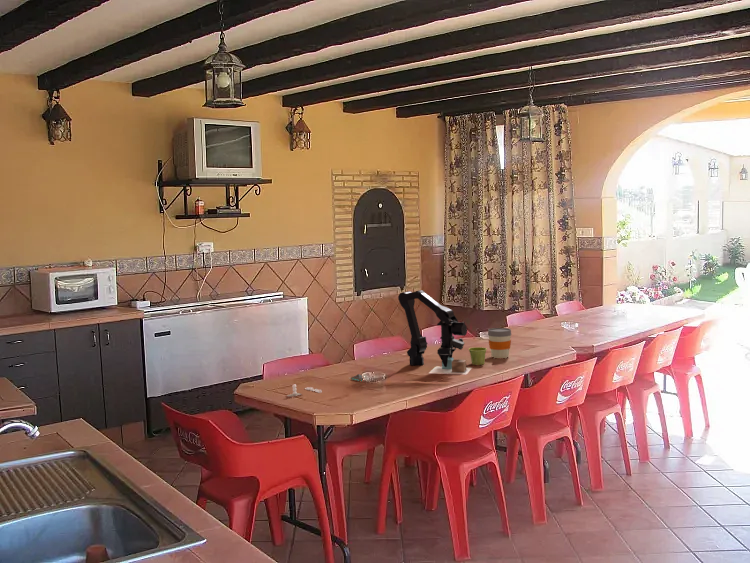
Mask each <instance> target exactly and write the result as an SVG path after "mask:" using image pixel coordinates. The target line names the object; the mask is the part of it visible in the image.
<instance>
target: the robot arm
mask: <svg viewBox="0 0 750 563" xmlns="http://www.w3.org/2000/svg"><path fill="white" fill-rule="evenodd" d="M397 298H398V302H399V304H400V306H401V307H402V309H403V310H404V313H405V316H406V321H407V324H408V329H409V332H410V336H411V338H410V341H409V342H410V348H409V349H408V350H407V351H406V353H407V356H408V357H409V366H412V367H413V366H415V367H418V366H419V367H420V366H424V365H425V362H424V360H425V359H424V356H423V355H424V354H425V351H426V350H427V347H428V345H429V344H428V342H427V337H426V336H423V335H422V334H421V331H420V327H419V323H418V319H417V315H416V311H415V308H414V307H415V302H416V301H415V300H416V299H417V300H418V301H420V302H421V303H423V304H424V305H425V306H426V307H428V309H430V310H431V311H432V312H434V314H435V316H436V317H437V318H438V319H439V322H438V323H437V324H436V326H440V338H439V339H440V341H441V343H440V347H439V348H438V349H437V352H436V353H437V355H438V356H439V359H440V360H441V363H442V362H443V364H444V367H447V363H448V357H453V354H454V352H455V351H456V350H457V349H458V350H459V351H460V350H461V351H462V350H463V348H464V345H465V341H464V339H463V338H461V336H463V337H466V335H467V334H468V327H467V325H466V322H465V321H459V320H458V318H457V317H456V315H455V312H454V311H453V309H450V308H449V307H447V306H444V305H442V304H440V303H439V302H437V301H436V300H435V299H433V297H431V296H430V295H428V294H427V293H426V292H425V290H422V289H420V290H419V289H418V290H416V291H413V292H412V291H410V290H408V291H407V290H406V291H403V292H400V293H399V294H398V297H397ZM455 336H460V338H458V339H456V338H455Z"/></svg>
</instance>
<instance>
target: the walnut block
mask: <svg viewBox="0 0 750 563" xmlns="http://www.w3.org/2000/svg"><path fill="white" fill-rule="evenodd" d="M466 367H467V360H466V359H454V360H453V361H452V372H465V371H466Z"/></svg>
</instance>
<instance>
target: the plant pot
mask: <svg viewBox="0 0 750 563" xmlns="http://www.w3.org/2000/svg"><path fill="white" fill-rule="evenodd" d="M467 350H468V352H469V354H470V361H471V364H472V365H475V366H482V365H485V360H486V353H487V351H488V348H487V347H482V346H481V347H480V346H479V347H478V346H477V347H469V348H468V349H467Z"/></svg>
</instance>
